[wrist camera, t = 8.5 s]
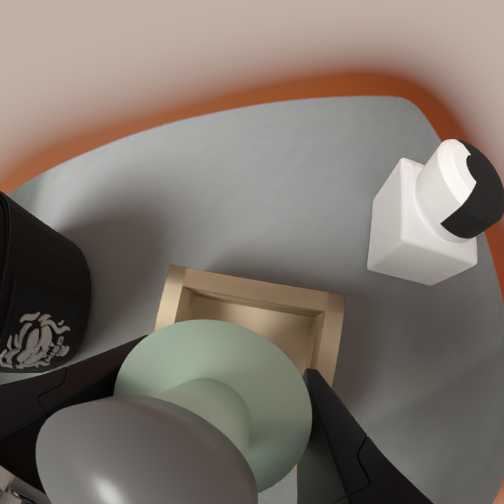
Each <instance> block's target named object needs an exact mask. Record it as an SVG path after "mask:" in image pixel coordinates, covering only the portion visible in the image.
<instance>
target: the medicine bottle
mask: <svg viewBox="0 0 504 504" xmlns="http://www.w3.org/2000/svg"><path fill="white" fill-rule="evenodd" d="M503 213H504V188H503V185H502V182H501V180H500V177H499V176H498V174H497V172H496V170H495V169H494V167H493V165H492V164H491V163H490V161H489V160H488V159H487V158H486V157H485V156H484V155H483V154H482V153H481V152H480V151H479V150H478V149H476V148H475V147H474V146H472V145H471V144H469V143H467V142H465V141H462V140H456V139H450V140H446V141H444V142H442V143H441V145H440V146H439V147H438V149H437V150H436V151H435V153H434V154H433V155H432V157H431V158H430V159H429V161H428V162H427V163H426V165H422V164H419V163H417V162H414V161H412V160H409V159H406V158H402V159H400V161H399V162H398V164H397V165H396V167H395V168H394V170H393V172H392V173H391V175H390V176H389V178H388V179H387V181H386V182H385V184H384V185H383V187H382V188H381V190H380V191H379V192H378V194H377V195H376V197H375V198H374V200H373V209H372V222H371V233H370V243H369V252H368V261H367V269H368V270H370V271H374V272H378V273H382V274H386V275H390V276H394V277H398V278H402V279H406V280H409V281H413V282H417V283H421V284H425V285H429V286H432V285H434V284H437V283H439V282H441V281H443V280H446V279H448V278H450V277H452V276H454V275H456V274H459V273H461V272H463V271H465V270H467V269H469V268H471V267H473V266H475V265H476V264H477V241H476V236H477V235H479V234H480V233H482V232H483V231H485V230H486V229H487V228H489V227H490V226H492V225H493V224H495V223H496V222H497V221H499V220H500V219H501V218H502V216H503Z"/></svg>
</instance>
